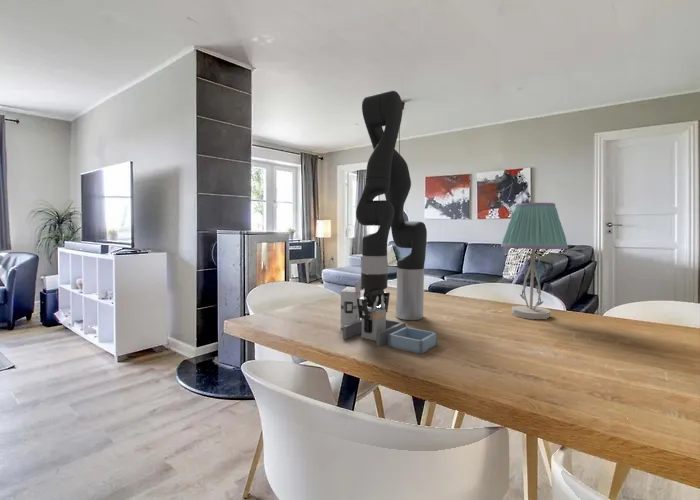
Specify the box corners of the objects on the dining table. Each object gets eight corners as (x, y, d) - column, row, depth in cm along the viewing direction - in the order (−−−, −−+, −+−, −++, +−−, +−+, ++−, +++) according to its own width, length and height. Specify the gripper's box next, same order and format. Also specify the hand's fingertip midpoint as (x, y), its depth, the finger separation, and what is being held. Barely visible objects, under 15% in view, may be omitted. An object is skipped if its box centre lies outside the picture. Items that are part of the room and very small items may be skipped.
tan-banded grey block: (370, 333, 111) (371, 306, 111) (385, 336, 108) (386, 309, 108) (361, 337, 107) (361, 309, 107) (376, 340, 104) (376, 312, 104)
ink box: (345, 321, 125) (346, 277, 124) (360, 322, 124) (361, 277, 123) (340, 328, 116) (340, 281, 115) (355, 329, 115) (356, 281, 114)
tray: (405, 337, 107) (405, 326, 107) (437, 344, 101) (437, 332, 101) (388, 346, 99) (388, 334, 99) (421, 354, 94) (421, 341, 93)
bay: (371, 327, 118) (371, 316, 117) (405, 334, 111) (405, 322, 110) (343, 338, 106) (343, 326, 106) (379, 346, 99) (379, 333, 99)
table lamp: (578, 323, 125) (584, 202, 122) (512, 322, 125) (517, 201, 122) (545, 308, 146) (550, 205, 144) (489, 308, 146) (493, 205, 144)
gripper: (376, 268, 114) (375, 323, 116) (348, 272, 103) (348, 333, 104) (398, 270, 110) (397, 327, 111) (371, 275, 98) (370, 339, 100)
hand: (373, 330), depth 108 cm, fingers closed on tan-banded grey block, 5 cm apart
